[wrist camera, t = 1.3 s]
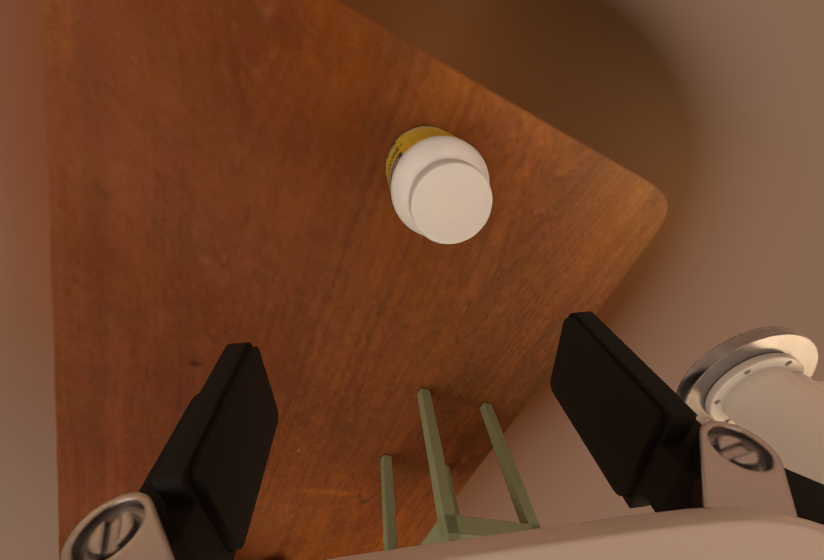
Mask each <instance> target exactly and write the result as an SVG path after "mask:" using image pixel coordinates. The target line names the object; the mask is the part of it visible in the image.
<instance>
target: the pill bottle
mask: <svg viewBox="0 0 824 560" xmlns="http://www.w3.org/2000/svg"><path fill="white" fill-rule="evenodd" d="M386 176H387V180H388V185H389V189H390V193H391V198H392V202H393V205H394V208H395V211H396V213H397V214H398V216H399V218H400V219H401V220H402V222H403V223H404V224H405V225H406V226H407V227H409V228H410V229H411V230H413V231H415V232H416V233H418V234H421V235H424V236H425V237H427V238H428V239H430V240H432V241H434V242H437V243H441V244H455V243H460V242H463V241H465V240H467V239H469V238H471V237H473V236H474V235H475V234H477V233H478V232H479V231H480V230H481V229H482V227H483V226H484V225H485V223H486V222H487V220H488V218H489V215H490V212H491V209H492V201H493V200H492V191H491V188H490V179H489V173H488V169H487V166H486V164H485V162H484V160H483V158H482V156H481V155H480V154H479V152H478V151H477V150H476V149H475V148H474V147H472V146H471V145H470V144H468V143H467V142H465V141H463V140H461V139H459V138H458V137H456V136H454V135H452V134H450V133H448V132H446V131H444V130H442V129H440V128H437V127H433V126H418V127H414V128H411V129H409V130H407V131H405V132H404V133H402V134H401V135H400V136H399V137H398V138H397V139H396V140H395V141H394V143H393V144H392V146H391V148H390V150H389V152H388V155H387V159H386Z"/></svg>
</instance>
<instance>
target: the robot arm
mask: <svg viewBox="0 0 824 560" xmlns="http://www.w3.org/2000/svg"><path fill="white" fill-rule="evenodd" d="M550 383H551V389H552V392H553V393H554V395H555V397H556V398H557V400H558V401H559V403H560V405H561V406H562V408H563V410H564V411H565V412H566V414H567V416H568V418H569V419H570V421H571V423H572V424H573V426H574V427H575V429H576V431H577V432H578V434H579V435H580V437H581V439H582V440H583V442H584V443H585V445H586V447H587V448H588V450H589V452H590V453H591V455H592V456H593V458H594V460H595V461H596V463H597V464H598V466H599V468H600V469H601V471H602V472H603V474H604V476H605V477H606V479H607V481H608V482H609V484H610V485H611V487H612V489H613V490H614V491H615V493H616V494H618V495H619V496H623V498H624V499H625V501H626V503H627V504H628V506H629V508H636V507H643V506H649V505H651V506H652V508H653V509H654V511H655V512H656V513H648V514H639V515H631V516H624V517H616V518H609V519H601V520H595V521H587V522H580V523H573V524H565V525H558V526H551V527H544V528H537V529H530V530H523V531H516V532H509V533H502V534H495V535H488V536H481V537H474V538H467V539H460V540H453V541H447V542H440V543H433V544H426V545H419V546H412V547H405V548H399V549H392V550H386V551H379V552H372V553H366V554H359V555H352V556H346V557H339V558H332V559H326V560H824V379H822V380H819V381H814V380H812V379H811V378H809V377H808V376H806V375H805V374H804V369H803V366H802V364H801V363H800V362H799V361H798V360H796V359H795V358H793V357H792V356H790V355H787V354H785V353H768V354H763V355H759V356H756V357H753V358H750V359H748V360H746V361H744V362H742V363H740V364H738V365H737V366H735V367H733V368H732V369H730V370H729V371H728V372H726V373H725V374H724V375H723V376H722V377H721V378H719V379H718V380H717V382H716V383H715V384H714V385H713V386H712V388H711V389H710V391H709V392H708V395H707V397H706V401H705V409H706V411H707V413H708V414H709V415H710V416H711V417H712V418H713V419H714V420H715V421H711V422H706V423H705V424H703V425H701V424H700V423H699V422H698V421H697V420H696V417H697V414H696V413H695V412H694V411H693V410H692V409H691V408H690V407H689V406H688V405H687V404H686V403H685V402H684V401H683V400H682V399H681V398H680V397H679V396H678V395H677V394H676V393H675V392H674V391H673V390H672V389H671V388H670V387H669V386H668V385H667V384H666V383H665V382H663V381H662V380H661V379H660V378H659V377H658V376H657V375H656V374H655V373H654V372H653V371H652V370H651V369H650V368H649V367H648V366H647V365H646V364H645V363H644V362H643V361H642V360H641V359H640V358H639V357H638V356H637V355H636V354H635V353H634V352H633V351H632V350H631V349H630V348H629V347H627V345H625V344H624V343H623V342H622V341H621V340H620V339H619V338H618V337H617V336H616V335H615V334H614V333H613V332H612V331H611V330H610V329H609V328H608V327H607V326H606V325H605V324H604V323H603V322H602V321H601V320H600V319H599V318H598V317H597V316H596V315H595V314H594V313H592V312H578V313H571V314H570V315H569V317H568V318H566V319H565V320H564V322H563V327H562V331H561V336H560V340H559V345H558V349H557V354H556V358H555V363H554V367H553V372H552V376H551V382H550ZM277 423H278V409H277V406H276V403H275V400H274V396H273V393H272V390H271V387H270V383H269V380H268V377H267V374H266V370H265V367H264V364H263V361H262V357H261V354H260V351H259V348H258V347H253V346H252V344H251V343H249V342H246V343H235V344H228V345H227V346H226V347H225V349H224V351H223V353H222V354H221V356H220V358H219V360H218V362H217V363H216V365H215V367H214V369H213V370H212V372H211V374H210V376H209V378H208V379H207V381H206V383H205V385H204V386H203V388H202V390H201V392H200V394H197V395H196V396H194V398H193V399H192V400H191V402H190V404H189V405H188V407H187V409H186V411H185V412H184V414H183V416H182V418H181V419H180V421H179V423H178V424H177V426H176V428H175V430H174V431H173V433H172V435H171V437H170V438H169V440H168V442H167V444H166V445H165V447H164V449H163V451H162V452H161V454H160V456H159V457H158V459H157V461H156V463H155V464H154V466H153V468H152V470H151V471H150V473H149V475H148V477H147V478H146V480H145V482H144V483H143V485H142V487H141V489H140V490H139V492H135V493H127V494H123V495H120V496H117V497H115V498H113V499H111V500H109V501H107V502H105V503H103V504H102V505H100V506H99V507H98V508H96V509H95V510H94V511H92V512H91V513H89V514H88V515H87V516H86V517H85V518H84V519H83V520H82V521H81V522H80V523H79V524H78V525H77V526H76V528H75V529H74V530H73V532H72V533H71V534H70V536H69V537H68V538H67V540H66V542H65V545H64V547H63V549H62V551H61V558H60V560H233V559H234V556H235V552H236V549H241V548H242V547H243V545H244V543H245V540H246V536H247V533H248V529H249V525H250V522H251V518H252V514H253V511H254V507H255V503H256V500H257V496H258V493H259V489H260V485H261V482H262V478H263V474H264V471H265V467H266V463H267V460H268V456H269V452H270V449H271V445H272V442H273V438H274V434H275V431H276V427H277ZM734 424H737V425H738V426H737V425H734ZM784 467H785V468H784Z"/></svg>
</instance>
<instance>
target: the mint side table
mask: <svg viewBox="0 0 824 560" xmlns="http://www.w3.org/2000/svg"><path fill="white" fill-rule="evenodd" d="M417 396H418V402H419V408H420V414H421V420H422V427H423V433H424V439H425V445H426V451H427V457H428V463H429V469H430V475H431V481H432V487H433V494H434V500H435V506H436V512H437V518H438V522H437V523H436V525H435V526H434V527H433V529H432V530H431V531H430V533H429V534H428V535H427V537H426V538H425V539H424V541H423V542H422V543H421V545H426V544H433V543H440V542H447V541H453V540H460V539H467V538H474V537H481V536H488V535H495V534H502V533H509V532H516V531H523V530H530V529H537V528H540V525H539V523H538V520H537V518H536V515H535V513H534V510H533V508H532V505H531V503H530V500H529V498H528V495H527V493H526V490H525V487H524V485H523V483H522V480H521V478H520V475H519V472H518V470H517V468H516V465H515V463H514V460H513V457H512V455H511V452H510V450H509V447H508V445H507V442H506V440H505V437H504V435H503V432H502V430H501V427H500V425H499V422H498V420H497V417H496V415H495V412H494V410H493V407H492V405H491V404H489V403H483V404H482V405H481V407H480V411H481V414H482V417H483V420H484V423H485V425H486V428H487V431H488V434H489V437H490V440H491V442H492V445H493V448H494V451H495V453H496V456H497V459H498V462H499V465H500V468H501V471H502V473H503V476H504V479H505V482H506V485H507V487H508V490H509V493H510V496H511V499H512V502H513V504H514V507H515V510H516V513H517V515H518V518H519V521H520V523H517V522H508V521H500V520H492V519H483V518H475V517H467V516H460V515H459V510H458V506H457V501H456V496H455V492H454V487H453V483H452V478H451V473H450V469H449V465H445V460H444V456H443V451H442V446H441V441H440V437H439V432H438V427H437V422H436V417H435V413H434V408H433V403H432V398H431V393H430V390H428V389H423V388H421V389H420V391H419V393H418V394H417ZM381 484H382V513H383V541H384V551H386V550H392V549H398V548H397V532H396V517H395V502H394V486H393V471H392V456H389V455H383V457H382V458H381Z"/></svg>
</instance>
